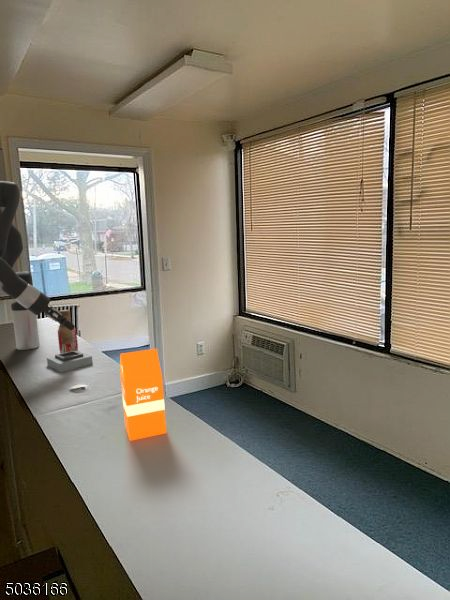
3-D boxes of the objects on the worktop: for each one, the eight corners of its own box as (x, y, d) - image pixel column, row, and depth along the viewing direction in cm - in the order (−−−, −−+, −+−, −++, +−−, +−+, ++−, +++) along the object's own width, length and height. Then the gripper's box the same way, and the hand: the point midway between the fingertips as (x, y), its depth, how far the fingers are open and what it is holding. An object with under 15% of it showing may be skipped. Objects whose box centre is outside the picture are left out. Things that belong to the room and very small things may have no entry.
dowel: (60, 343, 158) (56, 311, 157) (70, 340, 161) (67, 309, 159) (64, 344, 156) (61, 312, 154) (75, 342, 158) (71, 310, 156)
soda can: (66, 357, 169) (63, 328, 167) (56, 355, 173) (53, 326, 171) (82, 353, 175) (79, 324, 173) (72, 350, 179) (69, 322, 177)
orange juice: (125, 427, 107) (117, 349, 103) (160, 420, 110) (154, 344, 106) (129, 441, 99) (122, 358, 96) (167, 433, 102) (160, 352, 99)
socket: (47, 365, 160) (46, 355, 160) (78, 357, 168) (77, 348, 168) (61, 372, 152) (59, 361, 151) (92, 363, 160) (91, 353, 159)
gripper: (43, 292, 145) (83, 322, 154) (35, 289, 157) (73, 316, 166) (28, 310, 143) (70, 339, 152) (21, 305, 155) (60, 332, 163)
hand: (71, 327), depth 159 cm, fingers closed on dowel, 4 cm apart
